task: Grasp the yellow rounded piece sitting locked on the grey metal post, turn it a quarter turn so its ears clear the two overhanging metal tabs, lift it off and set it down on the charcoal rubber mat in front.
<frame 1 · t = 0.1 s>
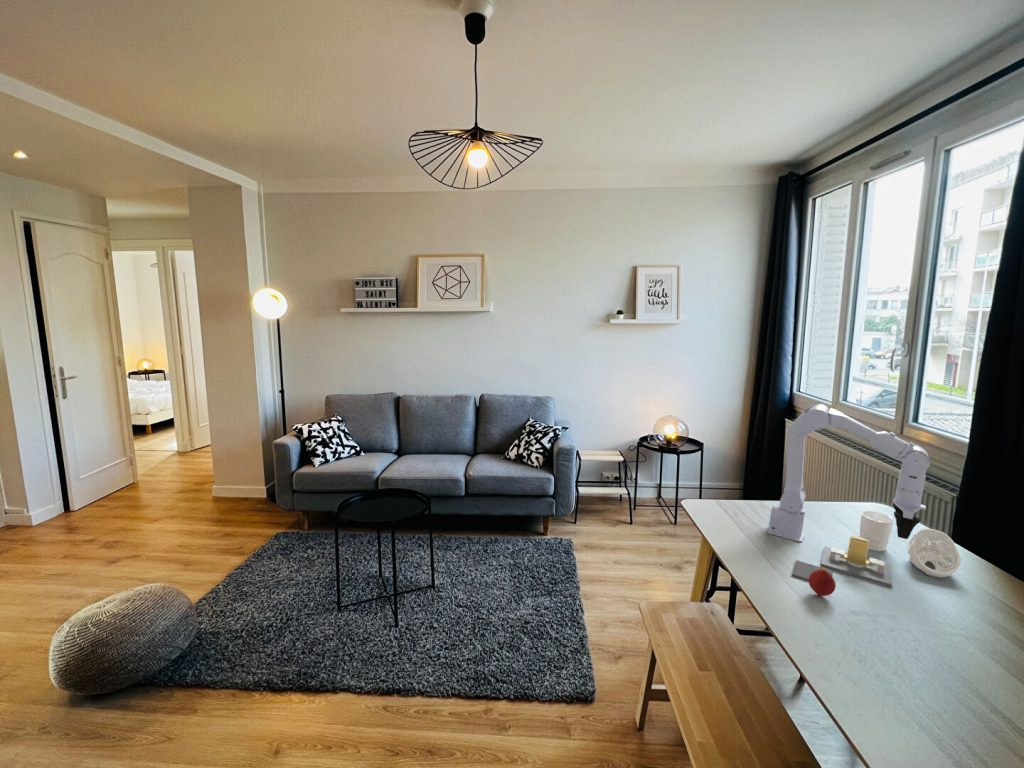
hand: (901, 532, 134), 10 cm above the table, fingers open, 7 cm apart
mat: (812, 574, 130), on the table
yellow rounded piece: (856, 560, 134), point 2 cm above the table, touching post base
post base: (855, 567, 134), on the table
skull bowl: (928, 568, 134), on the table
onion: (819, 596, 121), on the table
white cup: (872, 546, 146), on the table
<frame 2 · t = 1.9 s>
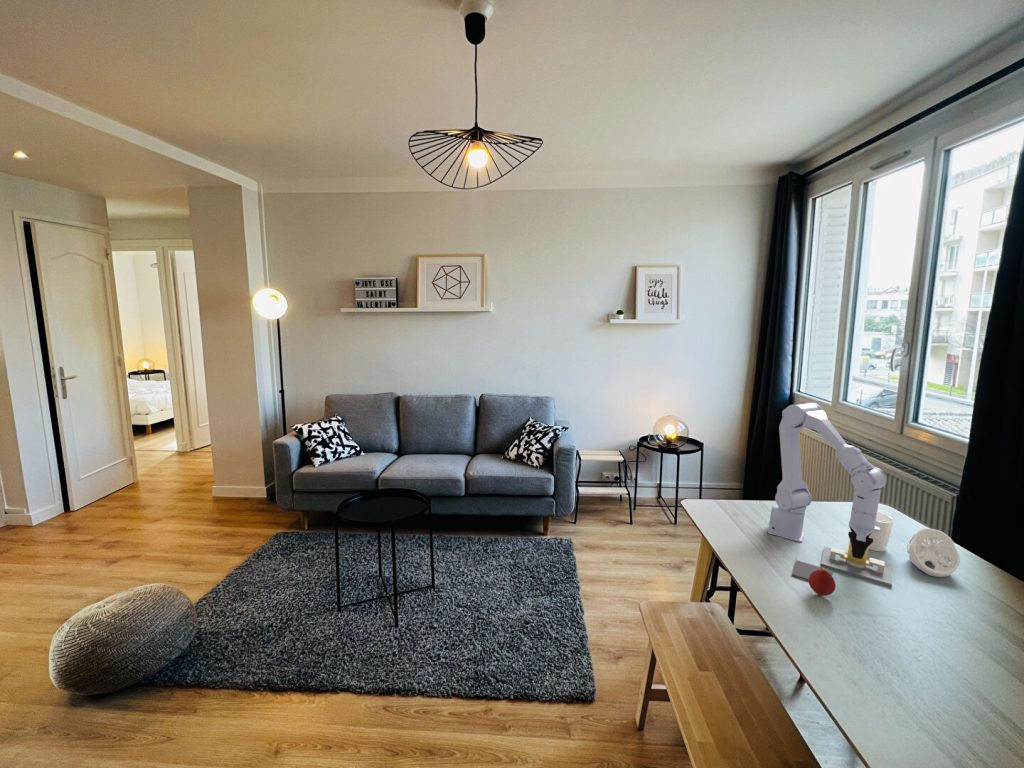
hand: (857, 553, 133), 4 cm above the table, fingers closed on yellow rounded piece, 4 cm apart
yellow rounded piece: (856, 560, 134), point 2 cm above the table, touching gripper, post base
everything else where it was.
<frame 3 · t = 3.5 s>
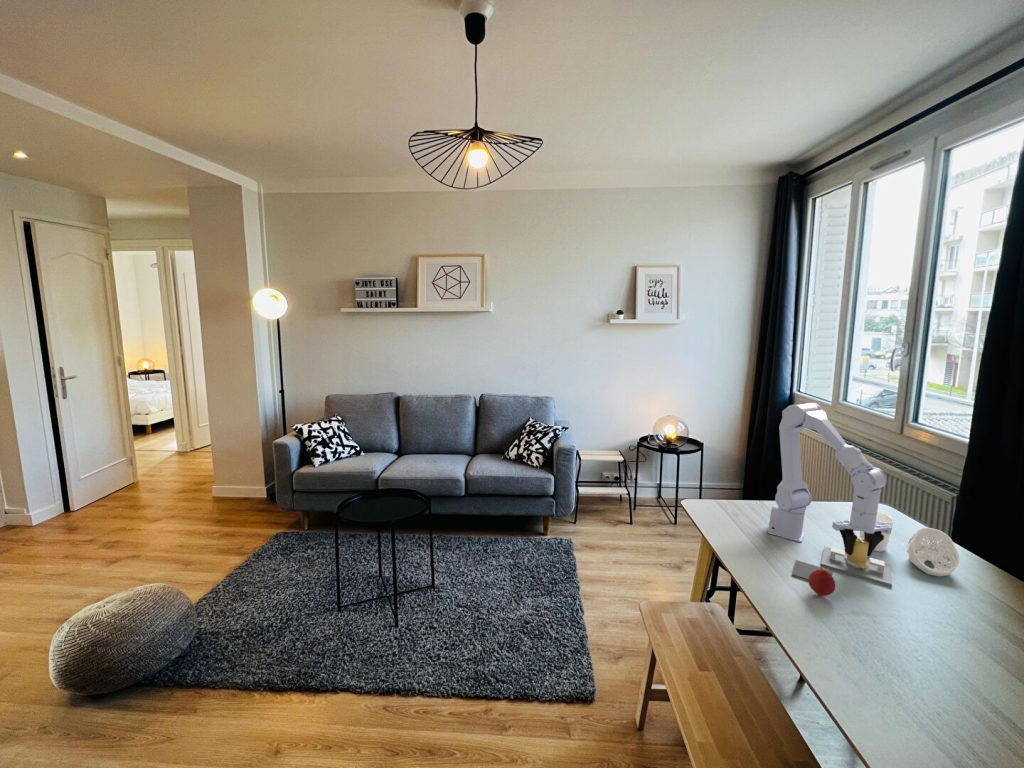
hand: (857, 553, 133), 4 cm above the table, fingers closed on yellow rounded piece, 4 cm apart
yellow rounded piece: (856, 560, 134), point 2 cm above the table, touching gripper
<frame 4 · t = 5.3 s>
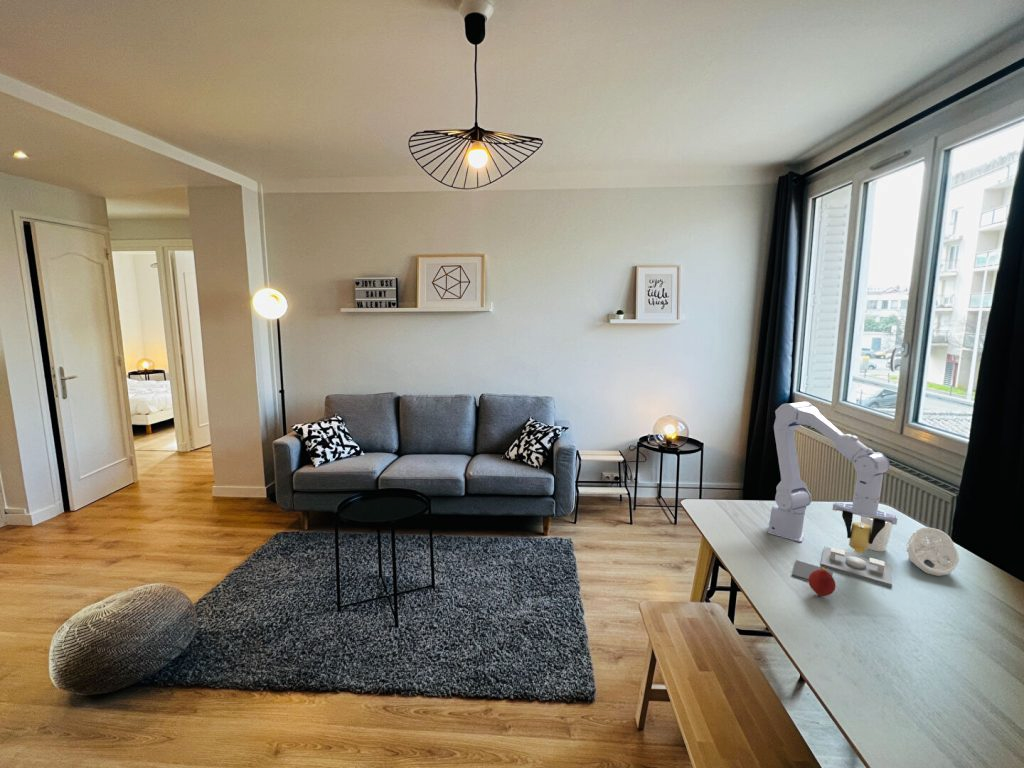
hand: (859, 539, 132), 9 cm above the table, fingers closed on yellow rounded piece, 4 cm apart
yellow rounded piece: (858, 547, 133), point 6 cm above the table, touching gripper
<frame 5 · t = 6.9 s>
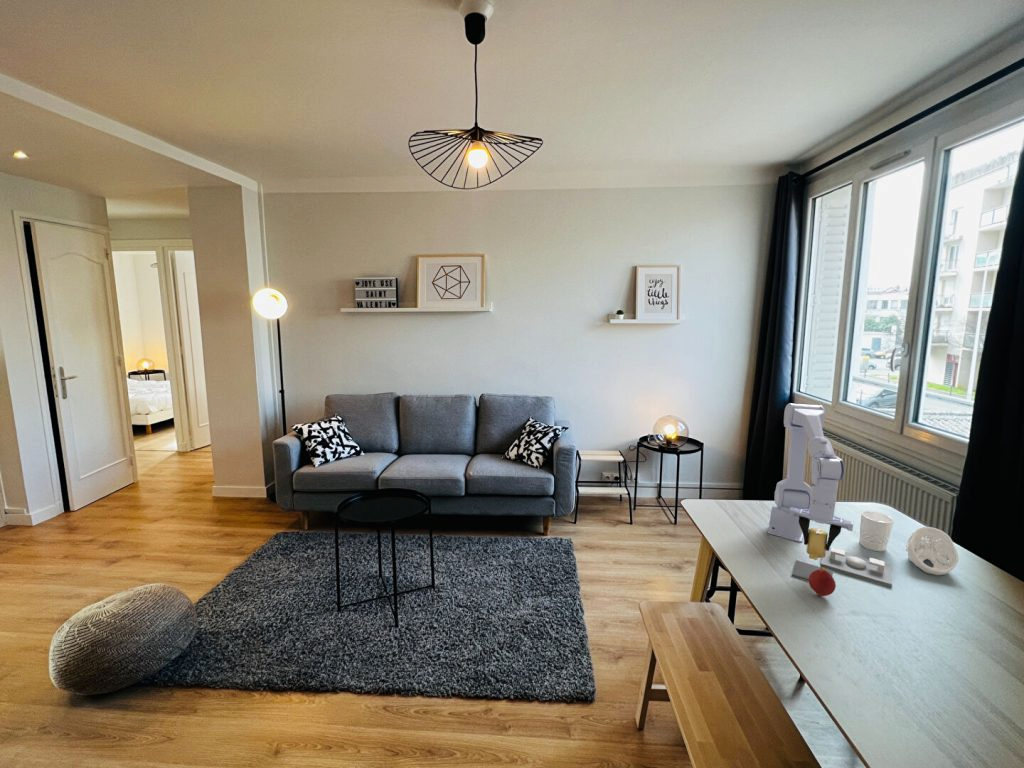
hand: (816, 546, 129), 9 cm above the table, fingers closed on yellow rounded piece, 4 cm apart
yellow rounded piece: (815, 553, 129), point 6 cm above the table, touching gripper
when the fingers open (3 cm above the table, at t = 8.3 s): yellow rounded piece stays where it is, resting on mat.
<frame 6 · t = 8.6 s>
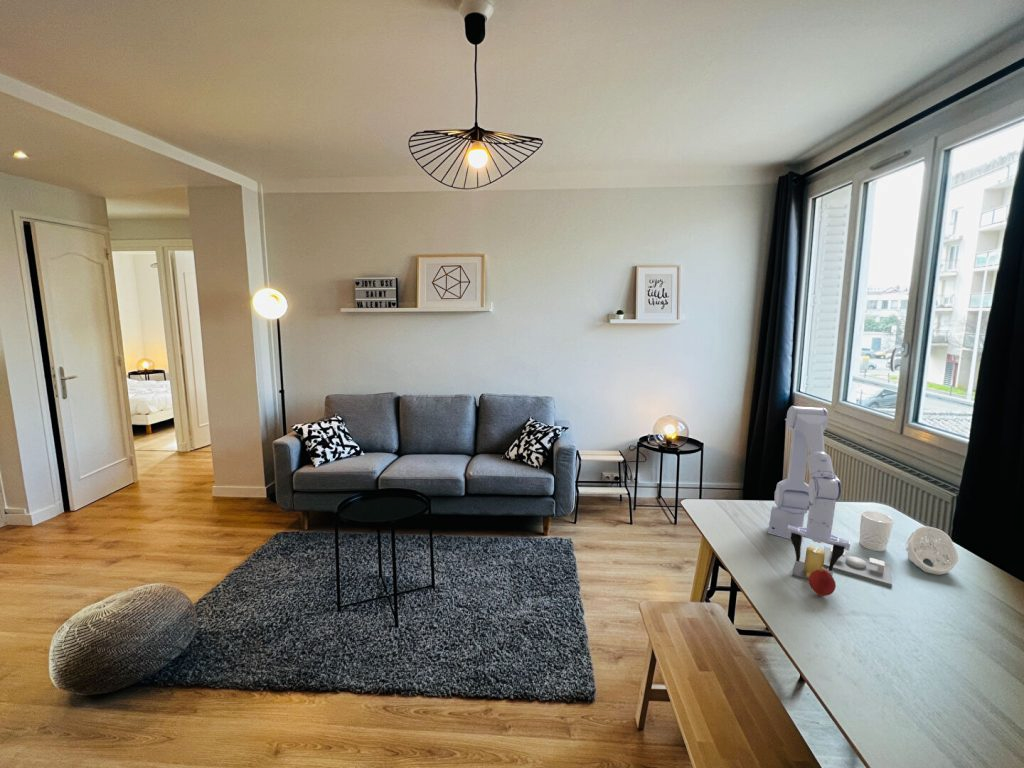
hand: (813, 564, 130), 3 cm above the table, fingers open, 7 cm apart
yellow rounded piece: (812, 572, 130), point 1 cm above the table, touching mat
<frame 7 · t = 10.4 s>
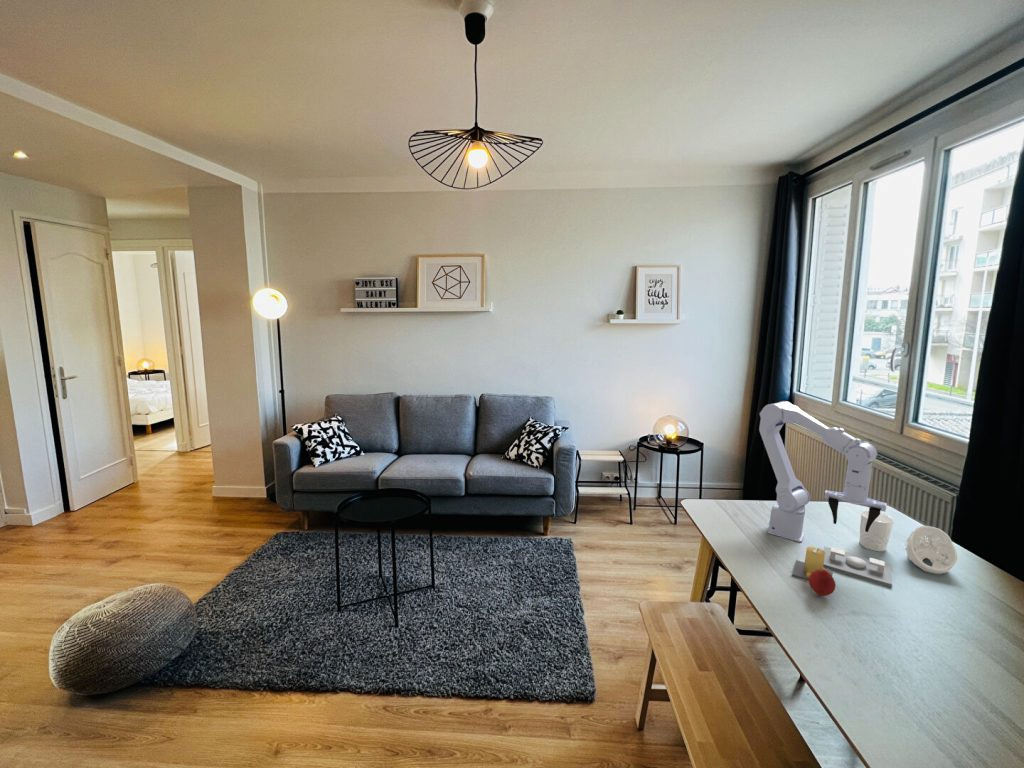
hand: (850, 526, 137), 10 cm above the table, fingers open, 7 cm apart
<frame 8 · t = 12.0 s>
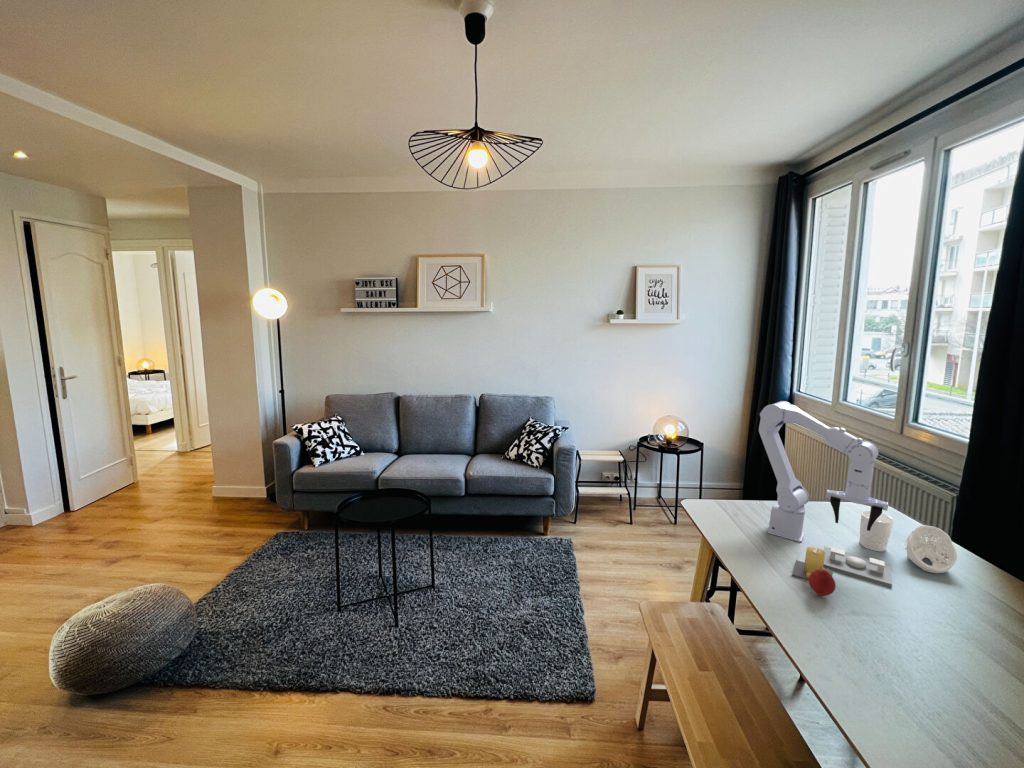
hand: (852, 525, 138), 10 cm above the table, fingers open, 7 cm apart
at the end: yellow rounded piece inside the target area on the mat (0.3 cm from its centre), point 0.6 cm above the mat's base; yellow rounded piece tilted 0°; the gripper is holding nothing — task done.
